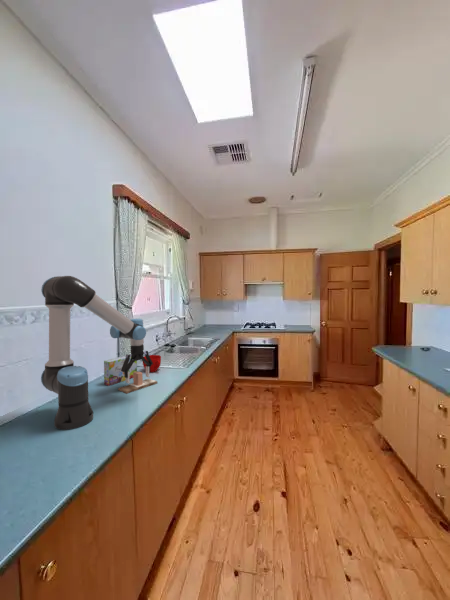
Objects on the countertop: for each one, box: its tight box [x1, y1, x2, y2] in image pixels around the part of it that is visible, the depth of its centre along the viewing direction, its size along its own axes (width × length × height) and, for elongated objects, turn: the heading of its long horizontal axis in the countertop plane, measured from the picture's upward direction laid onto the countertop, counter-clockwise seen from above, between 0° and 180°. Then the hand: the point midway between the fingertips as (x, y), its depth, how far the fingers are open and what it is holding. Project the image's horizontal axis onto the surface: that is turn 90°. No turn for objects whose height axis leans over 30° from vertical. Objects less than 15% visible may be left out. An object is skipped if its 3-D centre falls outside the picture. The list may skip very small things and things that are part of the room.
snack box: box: [103, 353, 138, 387], centre depth 174 cm, size 21×6×15 cm, turn 148°
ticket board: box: [117, 378, 158, 395], centre depth 163 cm, size 21×9×2 cm, turn 141°
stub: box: [128, 370, 147, 388], centre depth 163 cm, size 6×8×7 cm
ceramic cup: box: [142, 354, 162, 373], centre depth 193 cm, size 13×17×10 cm
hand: (137, 379), depth 163 cm, fingers open, 13 cm apart
